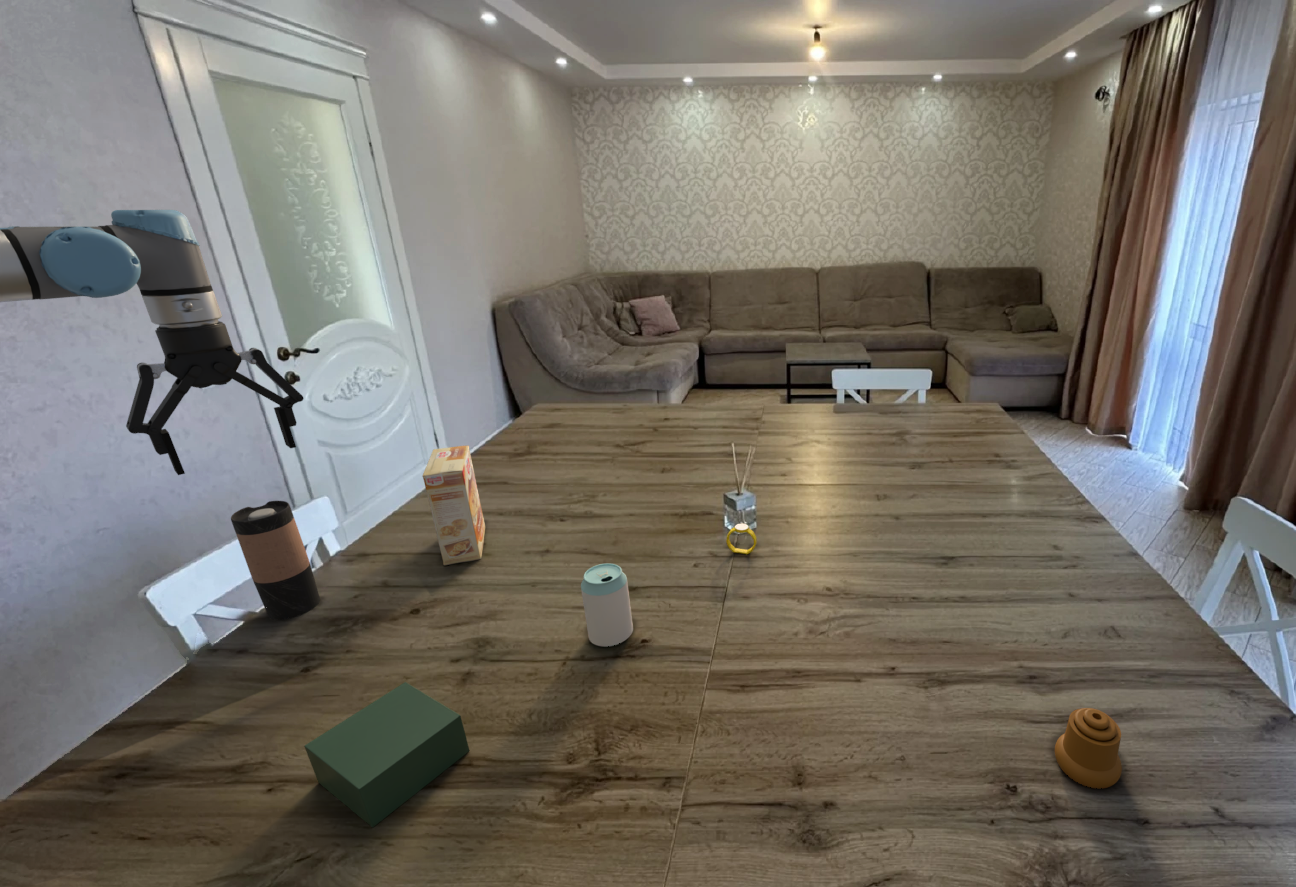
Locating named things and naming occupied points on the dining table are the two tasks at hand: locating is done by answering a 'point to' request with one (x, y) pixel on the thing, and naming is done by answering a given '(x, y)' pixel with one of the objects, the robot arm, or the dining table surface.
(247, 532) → the travel mug
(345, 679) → the dining table surface
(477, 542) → the coffeecake box
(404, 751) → the green block
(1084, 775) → the ornamental finial
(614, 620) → the can
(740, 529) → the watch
